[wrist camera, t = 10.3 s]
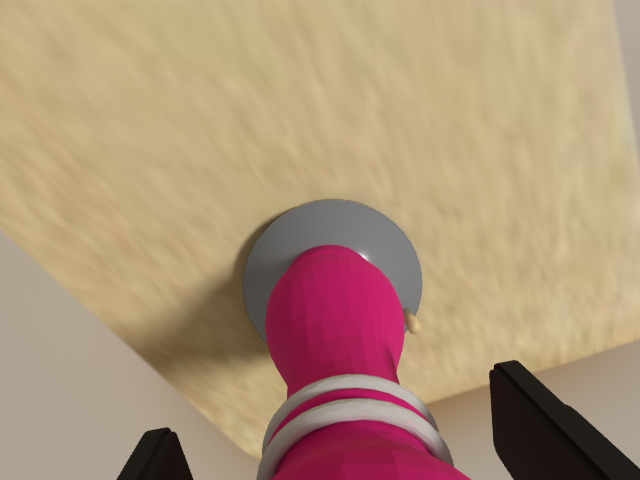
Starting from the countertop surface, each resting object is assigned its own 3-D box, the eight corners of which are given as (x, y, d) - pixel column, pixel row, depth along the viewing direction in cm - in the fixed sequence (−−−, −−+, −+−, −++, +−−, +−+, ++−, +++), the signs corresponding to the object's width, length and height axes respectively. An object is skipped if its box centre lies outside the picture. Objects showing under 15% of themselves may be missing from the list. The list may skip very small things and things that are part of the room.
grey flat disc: (226, 332, 23) (213, 358, 20) (276, 173, 20) (270, 174, 17) (379, 377, 24) (389, 409, 21) (443, 232, 21) (466, 243, 18)
